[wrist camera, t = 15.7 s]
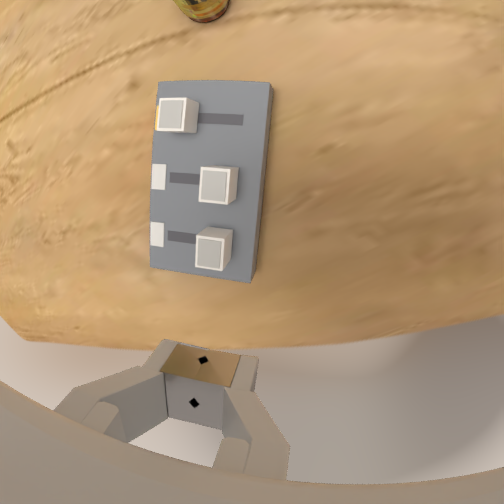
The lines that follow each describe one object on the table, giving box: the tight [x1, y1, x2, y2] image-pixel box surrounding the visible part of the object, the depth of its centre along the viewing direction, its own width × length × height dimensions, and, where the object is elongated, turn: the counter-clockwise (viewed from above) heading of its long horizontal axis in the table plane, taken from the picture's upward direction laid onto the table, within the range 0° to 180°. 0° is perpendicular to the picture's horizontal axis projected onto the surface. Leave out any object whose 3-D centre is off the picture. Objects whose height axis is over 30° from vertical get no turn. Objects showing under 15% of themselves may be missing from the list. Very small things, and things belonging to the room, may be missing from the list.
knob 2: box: [199, 165, 239, 205], centre depth 33 cm, size 3×4×4 cm
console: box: [150, 80, 273, 283], centre depth 37 cm, size 13×23×4 cm, turn 175°
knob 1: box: [157, 98, 199, 133], centre depth 31 cm, size 3×4×4 cm
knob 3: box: [195, 227, 233, 271], centre depth 35 cm, size 3×4×4 cm
